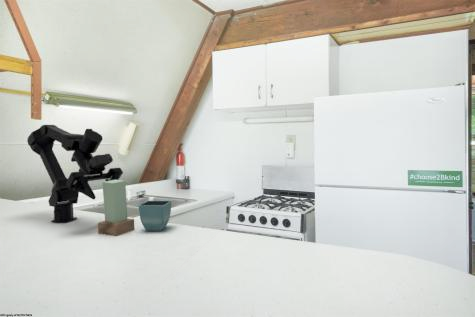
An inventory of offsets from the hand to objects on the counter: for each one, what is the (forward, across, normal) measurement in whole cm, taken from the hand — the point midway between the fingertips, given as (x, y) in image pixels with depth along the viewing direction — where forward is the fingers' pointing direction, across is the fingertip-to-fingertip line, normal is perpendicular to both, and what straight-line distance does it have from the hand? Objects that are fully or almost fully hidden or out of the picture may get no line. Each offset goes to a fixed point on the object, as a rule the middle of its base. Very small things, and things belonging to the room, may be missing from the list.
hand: (107, 196), depth 117 cm
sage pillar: (+8, 0, +2) cm, 9 cm away
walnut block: (+12, 0, +5) cm, 13 cm away
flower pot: (+18, +9, -2) cm, 20 cm away
